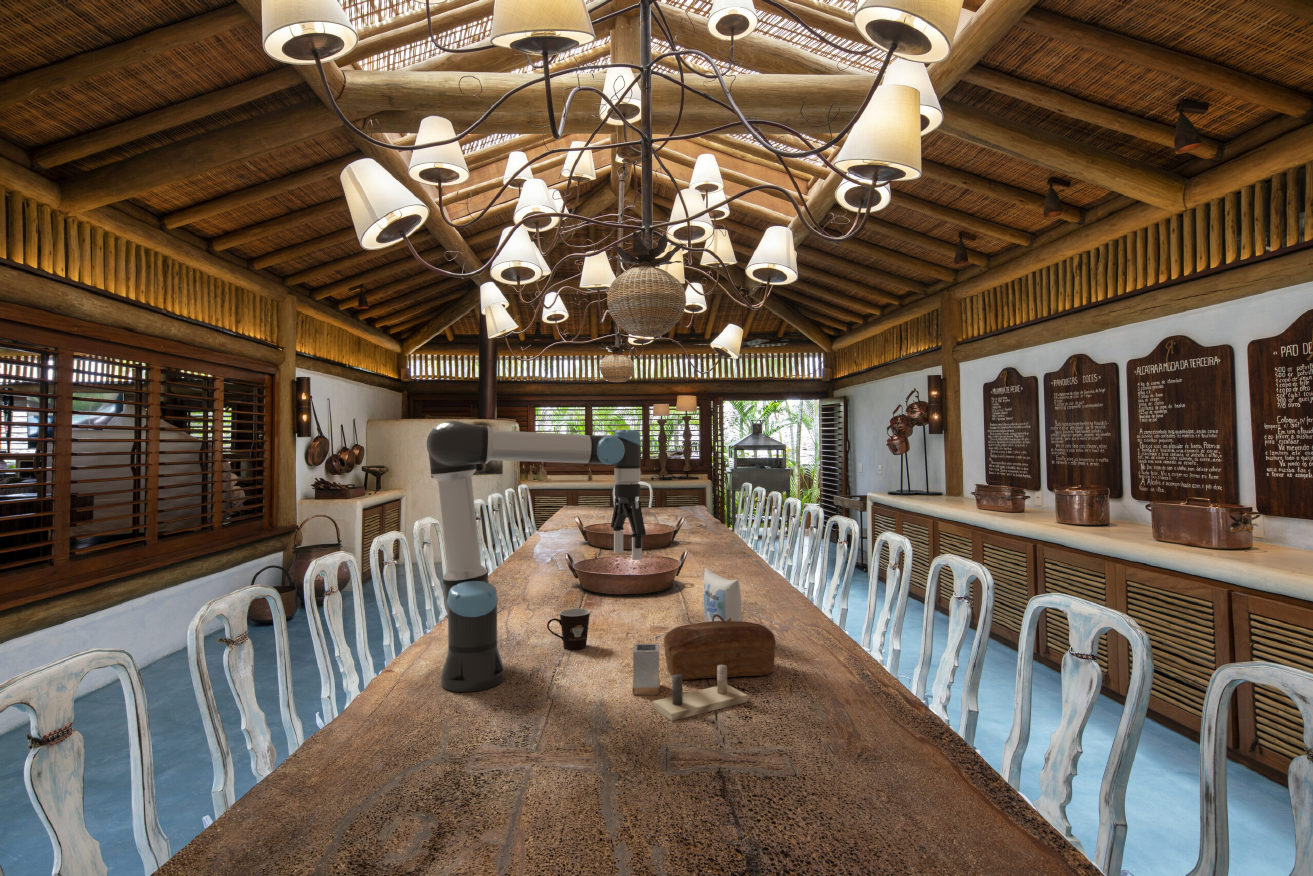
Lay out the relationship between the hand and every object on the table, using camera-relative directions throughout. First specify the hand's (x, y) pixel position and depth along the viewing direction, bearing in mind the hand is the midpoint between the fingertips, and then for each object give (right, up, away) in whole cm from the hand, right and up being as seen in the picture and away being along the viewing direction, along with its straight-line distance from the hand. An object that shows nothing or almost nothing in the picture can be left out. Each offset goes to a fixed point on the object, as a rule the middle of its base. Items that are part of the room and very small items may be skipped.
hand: (627, 556), depth 190 cm
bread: (+25, -26, -23) cm, 42 cm away
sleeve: (+6, -25, -35) cm, 44 cm away
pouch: (+28, -26, +3) cm, 38 cm away
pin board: (+18, -25, -44) cm, 54 cm away
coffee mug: (-16, -26, -2) cm, 31 cm away
